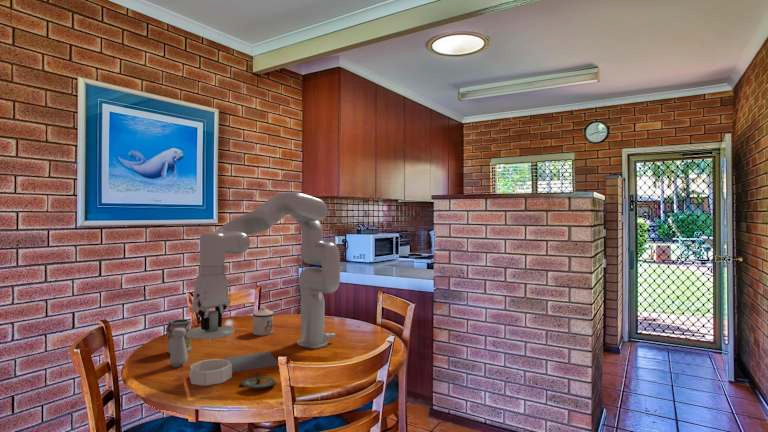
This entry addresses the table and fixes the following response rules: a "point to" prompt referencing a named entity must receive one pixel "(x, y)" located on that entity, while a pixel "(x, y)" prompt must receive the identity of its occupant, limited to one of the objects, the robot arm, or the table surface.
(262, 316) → the teacup with lid
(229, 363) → the bowl
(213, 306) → the robot arm
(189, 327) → the grey jar
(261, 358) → the mat
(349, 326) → the table surface
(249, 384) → the lid
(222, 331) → the cover
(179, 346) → the salt shaker
